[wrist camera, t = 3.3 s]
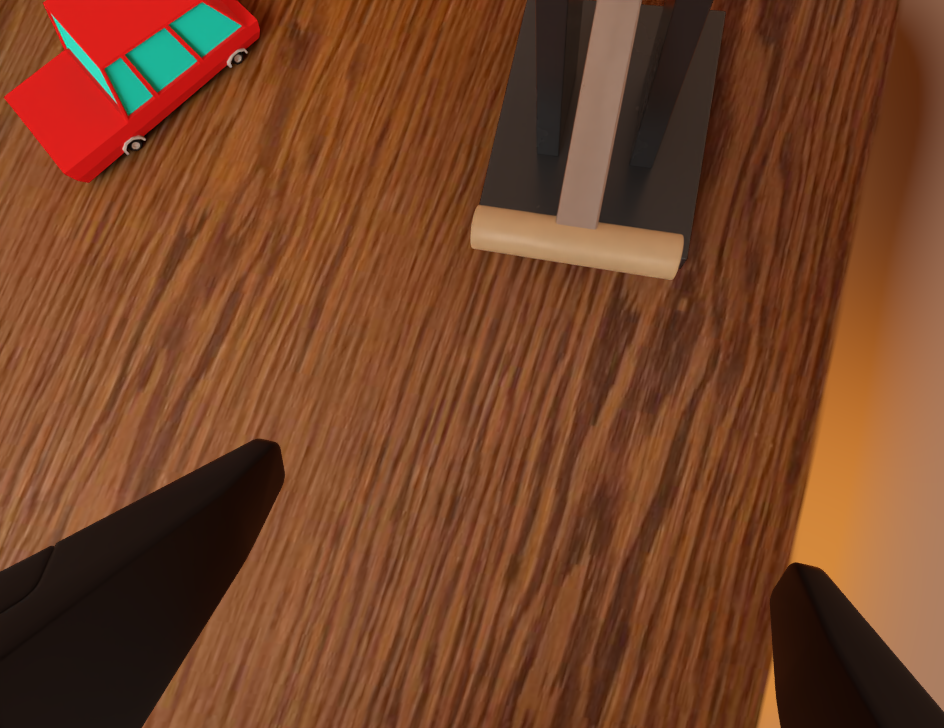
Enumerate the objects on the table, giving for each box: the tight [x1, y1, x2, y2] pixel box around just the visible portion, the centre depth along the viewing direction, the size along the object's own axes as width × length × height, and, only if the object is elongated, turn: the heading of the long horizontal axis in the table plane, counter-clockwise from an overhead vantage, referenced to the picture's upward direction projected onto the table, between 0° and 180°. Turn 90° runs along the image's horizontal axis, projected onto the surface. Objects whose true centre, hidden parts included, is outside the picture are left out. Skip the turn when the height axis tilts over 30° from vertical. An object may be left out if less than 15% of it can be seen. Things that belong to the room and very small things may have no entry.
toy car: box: [4, 0, 260, 183], centre depth 27 cm, size 6×12×4 cm, turn 132°
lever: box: [470, 0, 684, 280], centre depth 14 cm, size 12×6×2 cm, turn 168°
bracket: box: [479, 0, 726, 269], centre depth 18 cm, size 12×9×14 cm
